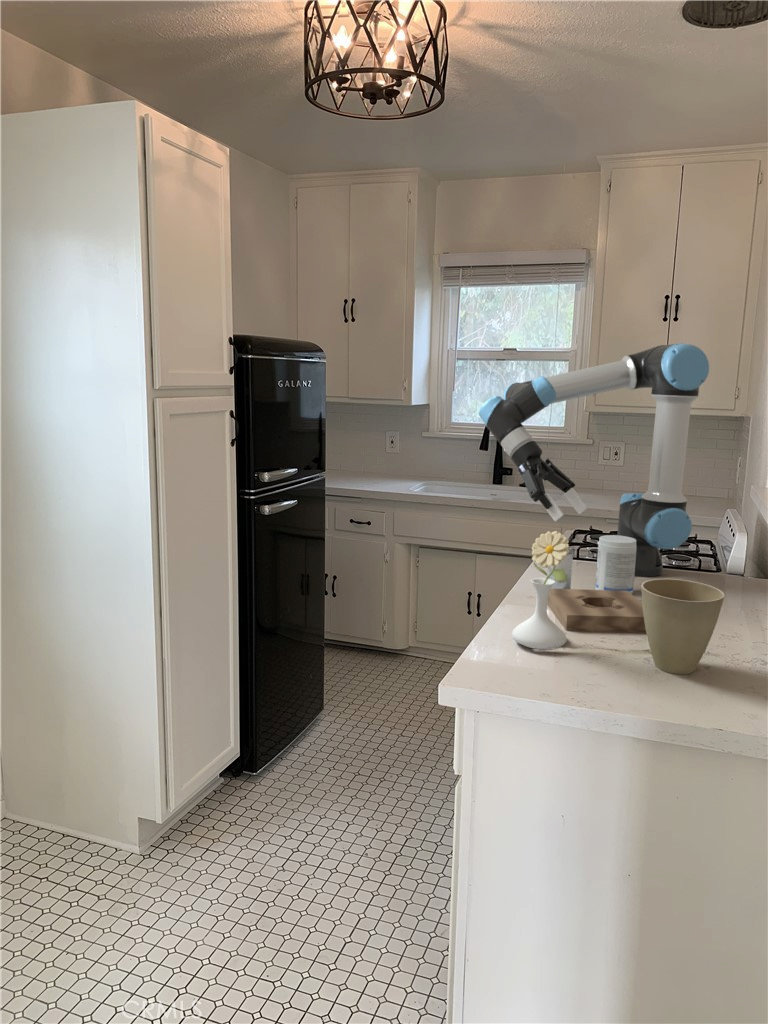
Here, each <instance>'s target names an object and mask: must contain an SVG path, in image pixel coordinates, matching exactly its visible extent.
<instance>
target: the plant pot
mask: <svg viewBox="0 0 768 1024" xmlns="http://www.w3.org/2000/svg"><path fill="white" fill-rule="evenodd" d="M724 598H725V593H724V592H723V591H722V590H720V588H717V587H715V586H713V585H710V584H705V583H703V582H698V581H692V580H685V579H679V578H655V579H653V578H652V579H649V580H646V581H643V582H642V583H641V603H642V605H643V615H644V622H645V628H646V633H645V634H646V638H647V642H648V646H649V649H650V654H651V656H652V660H653V663H654V665H655V667H656V668H657V669H659V670H660V671H663V672H666V673H671V674H675V675H687V674H688V675H689V674H692V673H694V672H695V670H696V669H697V667H698V665H699V664H700V662H701V660H702V658H703V655H704V654H705V651H706V650H707V647H708V645H709V644H710V641H711V639H712V637H713V633H714V631H715V629H716V625H717V623H718V619H719V617H720V613H721V610H722V605H723V603H724Z"/></svg>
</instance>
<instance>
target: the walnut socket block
mask: <svg viewBox="0 0 768 1024" xmlns="http://www.w3.org/2000/svg"><path fill="white" fill-rule="evenodd" d="M547 608H549V609H550V611H551V612H552V614H553V615H554V616H555V618H556V620H557V621H558V622H559V623H560V624H561V626H562V627H563V628H564V630H565V631H567V632H569V631H570V632H571V631H572V632H574V631H575V632H609V633H610V632H611V633H614V632H615V633H642V634H643V633H645V634H647V633H646V628H645V622H644V615H643V605H642V601H640V600H639V599H638V598H637V597H636V596H634V595H633V593H630V592H629V591H620V590H596V589H578V588H577V589H573V588H570V589H551V590H550V592H549V595H548V600H547Z"/></svg>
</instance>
